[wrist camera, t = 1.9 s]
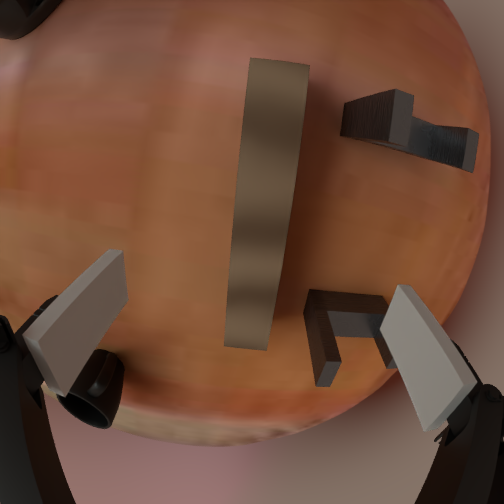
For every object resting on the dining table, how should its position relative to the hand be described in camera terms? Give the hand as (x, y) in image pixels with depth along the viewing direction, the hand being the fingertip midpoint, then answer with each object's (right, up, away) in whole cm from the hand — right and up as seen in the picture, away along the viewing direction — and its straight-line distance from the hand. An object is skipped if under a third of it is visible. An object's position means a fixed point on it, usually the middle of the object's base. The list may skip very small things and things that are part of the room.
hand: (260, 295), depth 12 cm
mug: (-20, -13, +22) cm, 32 cm away
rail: (0, +6, +12) cm, 14 cm away
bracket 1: (+9, -4, +16) cm, 19 cm away
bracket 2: (+11, +13, +8) cm, 19 cm away
